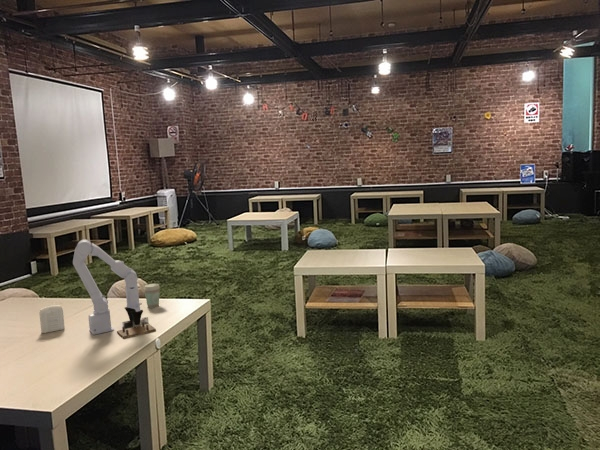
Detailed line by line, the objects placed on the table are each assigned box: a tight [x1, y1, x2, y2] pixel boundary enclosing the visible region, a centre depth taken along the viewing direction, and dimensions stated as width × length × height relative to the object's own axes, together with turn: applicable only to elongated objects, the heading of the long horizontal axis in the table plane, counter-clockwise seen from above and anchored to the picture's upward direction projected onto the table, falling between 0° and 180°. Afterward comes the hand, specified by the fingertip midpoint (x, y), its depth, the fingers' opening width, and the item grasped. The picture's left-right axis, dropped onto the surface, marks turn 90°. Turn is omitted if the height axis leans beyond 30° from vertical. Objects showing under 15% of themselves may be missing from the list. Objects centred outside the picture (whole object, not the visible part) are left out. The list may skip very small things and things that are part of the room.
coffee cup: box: [143, 283, 161, 309], centre depth 277 cm, size 8×8×12 cm
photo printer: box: [38, 304, 66, 334], centre depth 244 cm, size 10×4×12 cm, turn 123°
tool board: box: [116, 322, 157, 339], centre depth 237 cm, size 15×10×3 cm, turn 125°
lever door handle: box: [122, 316, 149, 329], centre depth 247 cm, size 12×3×3 cm, turn 125°
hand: (134, 322), depth 247 cm, fingers open, 7 cm apart
